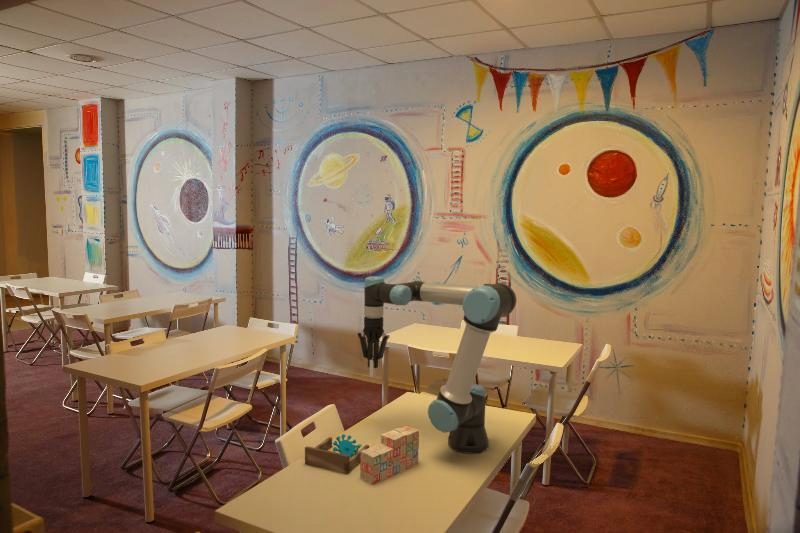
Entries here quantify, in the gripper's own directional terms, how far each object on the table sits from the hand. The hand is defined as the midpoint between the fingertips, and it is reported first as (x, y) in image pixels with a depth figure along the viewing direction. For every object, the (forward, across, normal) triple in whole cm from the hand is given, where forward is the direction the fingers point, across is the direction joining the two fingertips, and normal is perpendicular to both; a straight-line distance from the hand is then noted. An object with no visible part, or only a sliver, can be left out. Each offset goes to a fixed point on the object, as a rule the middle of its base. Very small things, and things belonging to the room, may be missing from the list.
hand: (372, 375), depth 210 cm
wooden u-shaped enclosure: (+22, 0, +27) cm, 35 cm away
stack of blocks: (+23, -20, +28) cm, 41 cm away
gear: (+23, -3, +25) cm, 34 cm away
